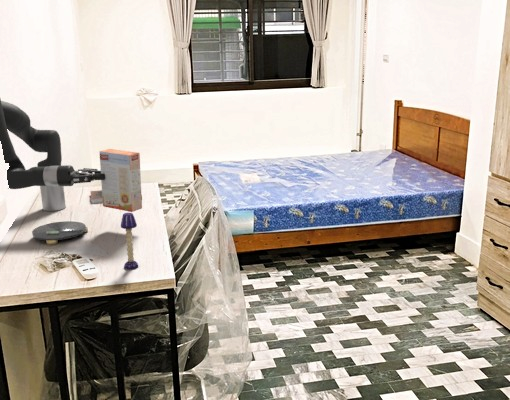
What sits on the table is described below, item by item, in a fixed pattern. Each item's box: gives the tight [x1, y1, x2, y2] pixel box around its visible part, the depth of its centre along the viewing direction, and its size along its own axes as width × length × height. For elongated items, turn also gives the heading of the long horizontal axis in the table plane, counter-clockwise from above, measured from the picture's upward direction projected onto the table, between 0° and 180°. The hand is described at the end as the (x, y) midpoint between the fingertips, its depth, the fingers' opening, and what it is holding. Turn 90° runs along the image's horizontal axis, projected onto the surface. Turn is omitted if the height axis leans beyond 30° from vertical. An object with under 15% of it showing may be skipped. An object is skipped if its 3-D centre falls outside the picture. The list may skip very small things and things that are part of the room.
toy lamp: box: [120, 212, 139, 270], centre depth 163 cm, size 5×5×17 cm
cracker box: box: [99, 148, 143, 213], centre depth 196 cm, size 14×6×21 cm, turn 61°
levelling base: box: [31, 220, 89, 246], centre depth 194 cm, size 19×18×4 cm
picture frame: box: [90, 189, 143, 205], centre depth 248 cm, size 16×2×22 cm
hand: (106, 175), depth 198 cm, fingers closed on cracker box, 4 cm apart
